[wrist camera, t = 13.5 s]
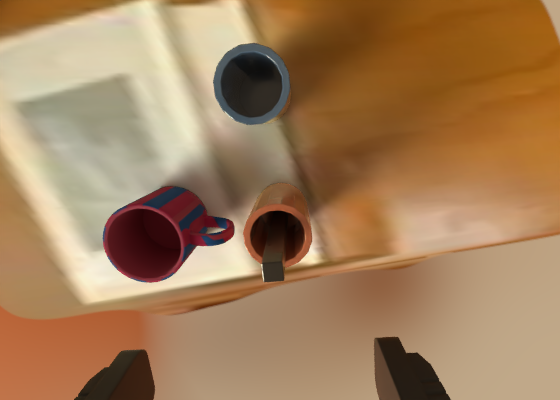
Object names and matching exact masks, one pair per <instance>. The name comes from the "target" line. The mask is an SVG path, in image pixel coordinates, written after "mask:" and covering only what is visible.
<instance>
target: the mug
mask: <svg viewBox="0 0 560 400" xmlns="http://www.w3.org/2000/svg"><path fill="white" fill-rule="evenodd" d="M210 227H217V228H223V229H226V230H223V231H221V232H217V233H209V234H206V231H207V228H210ZM233 235H234V224H233V222H232V221H231V220H229V219H226V218H221V217H213V216H208V215H207V211H206V209H205V207H204V205H203V203H202V202H201V200H200V199H199V198H198V197H197V196H196V195H195V194H193V193H192V192H190V191H188V190H186V189H184V188H180V187H173V186H170V187H164V188H161V189H158V190H156V191H154V192H152V193H150V194H148V195H146V196H144V197H142V198H140V199H138V200H136V201H134V202H132V203H130V204H128V205H126V206H124V207H122V208H120V209H118V210H117V211H116V212H115V213H113V214H112V215H111V217H110V218H109V219H108V221H107V223H106V225H105V228H104V231H103V245H104V249H105V252H106V254H107V257H108V259H109V260H110V262H111V263H112V264H113V266H114V267H115V268H116V269H117V270H118V271H120V272H121V273H122V274H124V275H125V276H127V277H129V278H131V279H134V280H136V281H141V282H150V283H151V282H158V281H162V280H165V279H167V278H169V277H171V276H172V275H173V274H175V273H176V272H177V270H178V269H179V268H180V267H181V266H182V264H183V263H184V262H185V261H186V259H187V258H188V257H189V255H190V254H191V253H192V252H193V250H194V249H195V248H196V247H197V246H214V245H219V244H222V243H225V242H227V241H228V240H229V239H231V238H232V237H233Z"/></svg>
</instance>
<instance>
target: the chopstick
mask: <svg viewBox="0 0 560 400" xmlns="http://www.w3.org/2000/svg"><path fill="white" fill-rule="evenodd" d="M287 226H288V212H285V211H282V210H277V211H273V215H272V219H271V224H270V228H269V232H268V237H267V241H266V245H265V250H264V254H263V258H262V263H261V267H262V275H263V281H264V282H275V281H284V276H285V259H286V243H287Z"/></svg>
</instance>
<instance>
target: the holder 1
mask: <svg viewBox="0 0 560 400" xmlns="http://www.w3.org/2000/svg"><path fill="white" fill-rule="evenodd" d="M213 84H214V91H215V97H216V99H217V101H218V103H219V105H220V107H221V108H222V110H223V111H224V112H225V113H226V114H227V115H228V116H230V117H231V118H232V119H233V120H235V121H237V122H240V123H243V124H246V125H258V124H269V123H272V122H274V121H276V120H278V119H280V118H281V117H282V116H283V115H284V114H285V112H286V111H287V109H288V107H289V104H290V100H291V88H290V77H289V72H288V70H287V68H286V66H285V64H284V62H283V60H282V58H281V57H280V56H279V55H277V54H276V53H275V52H274V51H273V50H272V49H271V48H269V47H266V46H263V45H260V44H257V43H250V44H241V45H238V46H237V47H235V48H233V49H232V50H230V51H228V52H227V53H226V54H225V55H224V56H223V58H222V59H221V61H220V62H219V63H218V65H217V67H216V72H215V76H214V80H213Z"/></svg>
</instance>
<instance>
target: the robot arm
mask: <svg viewBox="0 0 560 400" xmlns="http://www.w3.org/2000/svg"><path fill="white" fill-rule="evenodd" d="M374 355H375V381H376V388H377V392H378V396H379V400H450V397H449V396H448V394H446V391H445V389H444V387H443V385H442V383H441V382H439V378H438V376H437V375H436V373H435V371H434V369H433V368H432V366H431V364H430V363H428V362H427V361H426V360H425V359H424V358H423V357H422V356H420V355H419V354H418V353H406V352H405V350H404V348H403V346H402V344H401V342H400V340H399V338H398V337H383V338H375V340H374ZM154 393H155V385H154V380H153V376H152V372H151V367H150V363H149V359H148V355H147V352H146V351H145V350H125V351H121V352H120V353H119V354H118V356H117V357H116V358H115V359H114V361H113V362H112V364H111V365H110V366H109V367H106V368H104V369H103V370H101V371H100V372H99V373H97V374H96V375H95V376H94V377H92V378H91V379H90V380H89V381H88V382H87V384H86V385H85V386H84V388H83V389H82V390H81V392H80V393H79V394H78V397H76V398H75V399H74V400H153V399H154Z"/></svg>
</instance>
